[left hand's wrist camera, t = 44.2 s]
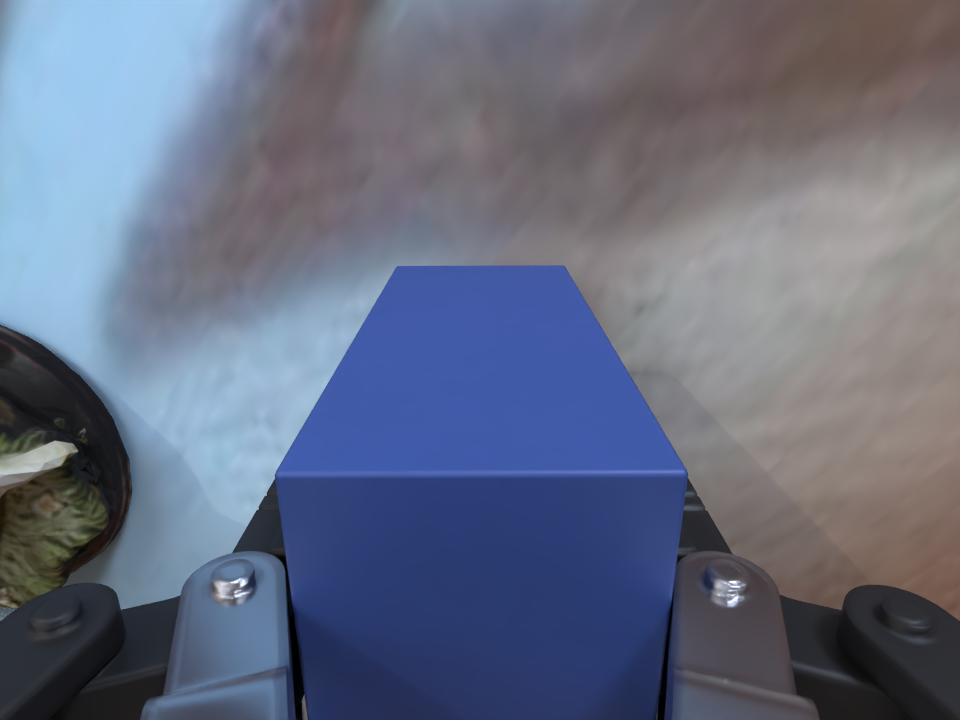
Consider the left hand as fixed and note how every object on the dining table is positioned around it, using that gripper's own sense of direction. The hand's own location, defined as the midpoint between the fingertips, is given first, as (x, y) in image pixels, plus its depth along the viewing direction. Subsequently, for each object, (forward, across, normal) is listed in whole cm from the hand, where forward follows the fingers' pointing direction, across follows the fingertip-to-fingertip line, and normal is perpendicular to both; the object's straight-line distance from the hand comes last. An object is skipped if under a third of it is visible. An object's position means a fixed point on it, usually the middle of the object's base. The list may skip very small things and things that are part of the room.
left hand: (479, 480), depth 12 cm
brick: (+6, 0, 0) cm, 6 cm away
